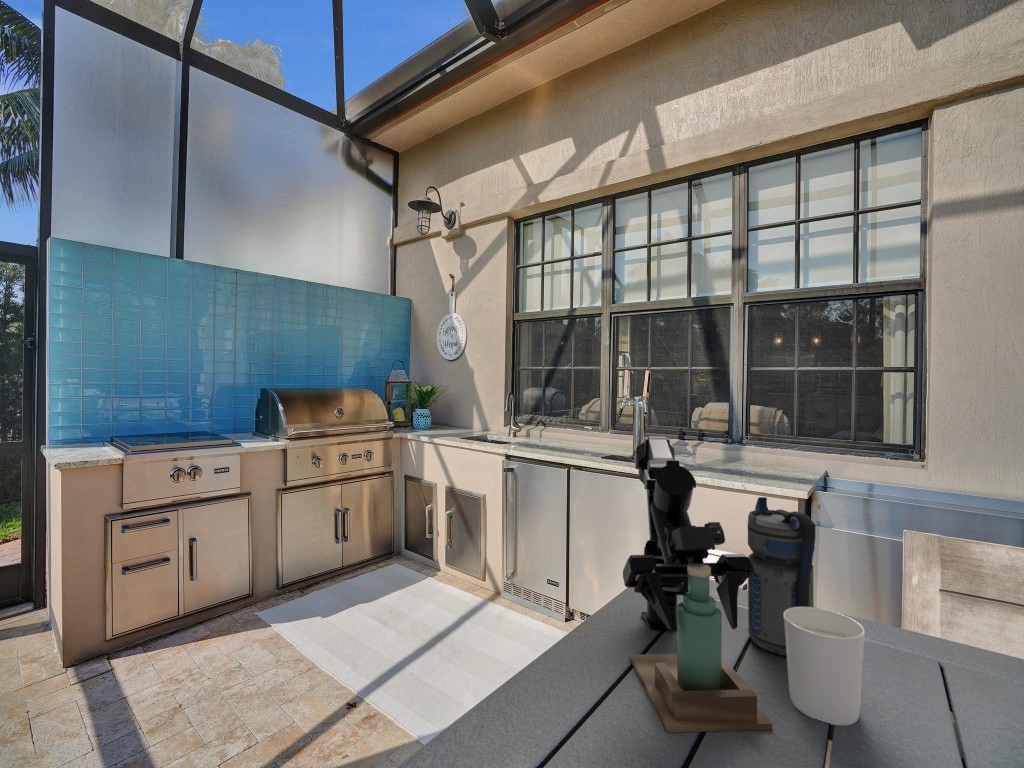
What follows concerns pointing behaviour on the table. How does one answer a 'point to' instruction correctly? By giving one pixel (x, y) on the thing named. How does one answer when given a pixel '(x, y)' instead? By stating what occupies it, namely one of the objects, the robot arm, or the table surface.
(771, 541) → the beverage bottle
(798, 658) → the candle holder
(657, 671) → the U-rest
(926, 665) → the table surface
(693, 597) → the oil bottle
